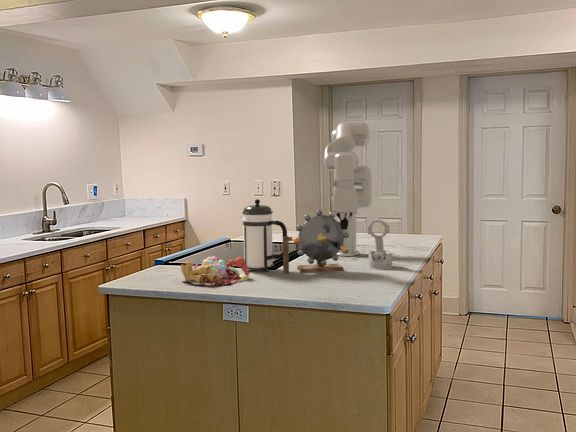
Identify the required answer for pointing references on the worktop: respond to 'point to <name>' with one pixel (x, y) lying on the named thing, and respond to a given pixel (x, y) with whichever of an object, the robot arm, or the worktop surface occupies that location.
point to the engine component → (379, 249)
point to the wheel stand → (305, 267)
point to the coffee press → (259, 236)
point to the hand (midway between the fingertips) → (344, 229)
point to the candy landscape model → (214, 272)
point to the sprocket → (321, 238)
